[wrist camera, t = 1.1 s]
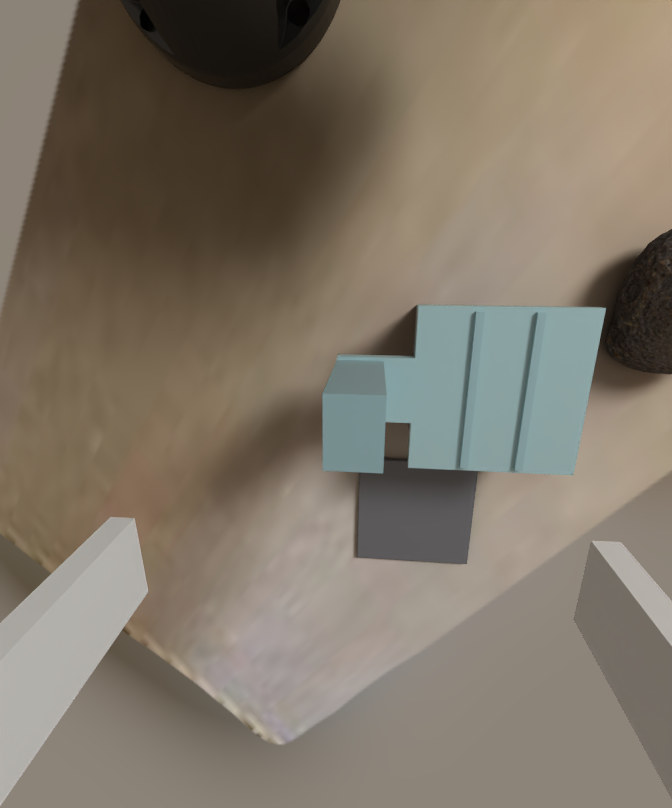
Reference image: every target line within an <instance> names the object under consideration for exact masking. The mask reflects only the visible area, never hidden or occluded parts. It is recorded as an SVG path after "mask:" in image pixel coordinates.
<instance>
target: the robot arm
mask: <svg viewBox="0 0 672 808" xmlns="http://www.w3.org/2000/svg"><path fill="white" fill-rule="evenodd" d="M121 2H122V4H123V6H124V7H125V9H126V11H127V12H128V14H129V16H130V17H131V19H132V20H133V21H134V23H135V24H136V26H137V27H138V28H139V30H140V31H141V32H142V33H143V34H144V36H145V37H146V38H147V39H148V40H149V41H150V42H151V43H152V44H153V45H154V46H155V47H156V48H157V49H158V50H159V51H160V52H161V53H162V54H163V55H164V56H165V57H166V58H167V59H168V60H169V61H170V62H171V63H172V64H173V65H175V66H176V67H177V68H179V69H180V70H181V71H183V72H184V73H186V74H188V75H189V76H191V77H193V78H195V79H197V80H199V81H202V82H204V83H207V84H210V85H214V86H218V87H224V88H249V87H255V86H259V85H262V84H265V83H268V82H271V81H273V80H275V79H277V78H279V77H281V76H283V75H285V74H286V73H288V72H289V71H291V70H292V69H293V68H295V67H296V66H297V65H298V64H300V63H301V62H302V61H303V60H304V59H305V58H306V57H307V56H308V55H309V54H310V53H311V52H312V50H313V49H314V48H315V47H316V45H317V44H318V43H319V41H320V40H321V38H322V37H323V35H324V34H325V32H326V30H327V29H328V27H329V25H330V23H331V21H332V19H333V17H334V15H335V13H336V10H337V8H338V5H339V2H340V0H121ZM147 593H148V587H147V582H146V576H145V571H144V566H143V561H142V555H141V550H140V545H139V539H138V534H137V529H136V524H135V518H118V517H110V518H109V519H108V520H107V521H106V522H105V523H104V524H103V525H102V526H101V527H100V528H99V529H98V530H97V531H96V532H94V533H93V534H92V535H91V536H90V537H89V538H88V539H87V540H86V541H85V542H84V543H83V544H82V545H81V546H80V547H79V548H78V549H77V550H76V551H75V552H74V553H73V554H72V555H71V556H70V557H69V558H67V559H66V560H65V561H64V562H63V563H62V564H61V565H60V566H59V567H58V568H57V569H56V570H55V571H54V572H53V573H52V574H51V575H50V576H49V577H48V578H47V579H46V580H45V581H44V582H43V583H41V584H40V585H39V587H37V589H35V590H34V591H33V592H32V593H31V594H30V595H29V596H28V597H27V598H26V599H25V600H24V601H23V602H22V603H21V604H20V605H19V606H18V607H17V608H15V610H13V611H12V612H11V613H10V614H9V615H8V616H7V617H6V618H5V619H4V620H3V621H2V622H1V623H0V806H1V804H2V803H3V801H4V800H5V798H6V797H7V795H8V794H9V792H10V791H11V790H12V788H13V787H14V785H15V784H16V782H17V781H18V779H19V778H20V776H21V775H22V774H23V772H24V771H25V769H26V768H27V766H28V765H29V763H30V762H31V761H32V759H33V758H34V756H35V755H36V753H37V752H38V750H39V749H40V748H41V746H42V745H43V743H44V742H45V740H46V739H47V738H48V736H49V735H50V733H51V731H52V730H53V729H54V727H55V726H56V724H57V723H58V721H59V720H60V719H61V717H62V716H63V714H64V713H65V712H66V710H67V709H68V707H69V706H70V704H71V703H72V701H73V700H74V698H75V697H76V696H77V694H78V693H79V691H80V690H81V688H82V687H83V685H84V684H85V683H86V681H87V680H88V678H89V677H90V675H91V674H92V672H93V671H94V670H95V668H96V667H97V665H98V664H99V662H100V661H101V659H102V658H103V657H104V655H105V654H106V652H107V651H108V649H109V648H110V646H111V645H112V643H113V642H114V641H115V639H116V638H117V636H118V635H119V633H120V632H121V630H122V629H123V628H124V626H125V625H126V623H127V622H128V620H129V619H130V617H131V616H132V615H133V613H134V612H135V610H136V609H137V607H138V606H139V604H140V603H141V602H142V600H143V599H144V597H145V596H146V594H147ZM574 621H575V623H576V625H577V627H578V628H579V630H580V632H581V634H582V636H583V638H584V639H585V641H586V643H587V645H588V647H589V648H590V650H591V652H592V654H593V655H594V657H595V659H596V661H597V663H598V665H599V666H600V669H601V670H602V672H603V674H604V676H605V678H606V680H607V681H608V683H609V685H610V687H611V688H612V691H613V692H614V694H615V696H616V698H617V700H618V702H619V703H620V705H621V707H622V709H623V711H624V712H625V714H626V716H627V718H628V720H629V722H630V723H631V725H632V727H633V729H634V731H635V732H636V734H637V736H638V738H639V740H640V742H641V743H642V745H643V747H644V749H645V751H646V753H647V755H648V756H649V758H650V760H651V762H652V764H653V766H654V767H655V769H656V771H657V773H658V775H659V776H660V778H661V780H662V782H663V784H664V786H665V787H666V789H667V791H668V793H669V795H670V797H671V798H672V601H671V600H670V599H669V598H668V596H667V595H666V594H665V593H664V592H663V591H662V589H660V587H659V586H658V585H657V584H656V583H655V581H654V580H653V579H652V578H651V577H650V576H649V574H648V573H647V572H646V571H645V570H644V569H643V568H642V566H641V565H640V564H639V563H638V562H637V561H636V559H635V558H634V557H633V556H632V555H631V554H630V552H629V551H628V550H627V549H626V548H625V547H624V546H623V544H622V543H621V542H607V541H591V544H590V549H589V553H588V557H587V562H586V566H585V571H584V575H583V580H582V584H581V589H580V593H579V598H578V602H577V607H576V611H575V616H574Z"/></svg>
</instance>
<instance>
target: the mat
mask: <svg viewBox="0 0 672 808" xmlns="http://www.w3.org/2000/svg"><path fill="white" fill-rule="evenodd" d="M407 460H408V459H385V458H384V467H383V473H362V472H360V479H359V517H358V556H357V557H364V558H380V559H396V560H411V561H427V562H443V563H459V564H467V558H468V549H469V541H470V532H471V524H472V516H473V507H474V499H475V491H476V482H477V474H478V471H468V470H446V469H423V468H408V464H407Z"/></svg>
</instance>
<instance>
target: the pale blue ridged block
mask: <svg viewBox="0 0 672 808" xmlns="http://www.w3.org/2000/svg"><path fill="white" fill-rule="evenodd" d="M605 311H606V308H602V307H560V306H486V305H417V317H416V333H415V349H414V356H391V355H349V354H338V356H337V361H336V363H335V366H334V368H333V370H332V373H331V375H330V377H329V380H328V382H327V384H326V387H325V389H324V391H323V393H322V404H323V471H341V472H362V473H383V467H384V445H385V422H394V423H410V428H409V444H408V460H407V464H408V468H423V469H446V470H468V471H490V472H512V473H534V474H556V475H573V474H574V469H575V464H576V459H577V454H578V449H579V444H580V439H581V434H582V429H583V423H584V418H585V413H586V408H587V403H588V398H589V393H590V388H591V383H592V377H593V372H594V367H595V362H596V357H597V352H598V347H599V342H600V337H601V331H602V326H603V321H604V316H605Z"/></svg>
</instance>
